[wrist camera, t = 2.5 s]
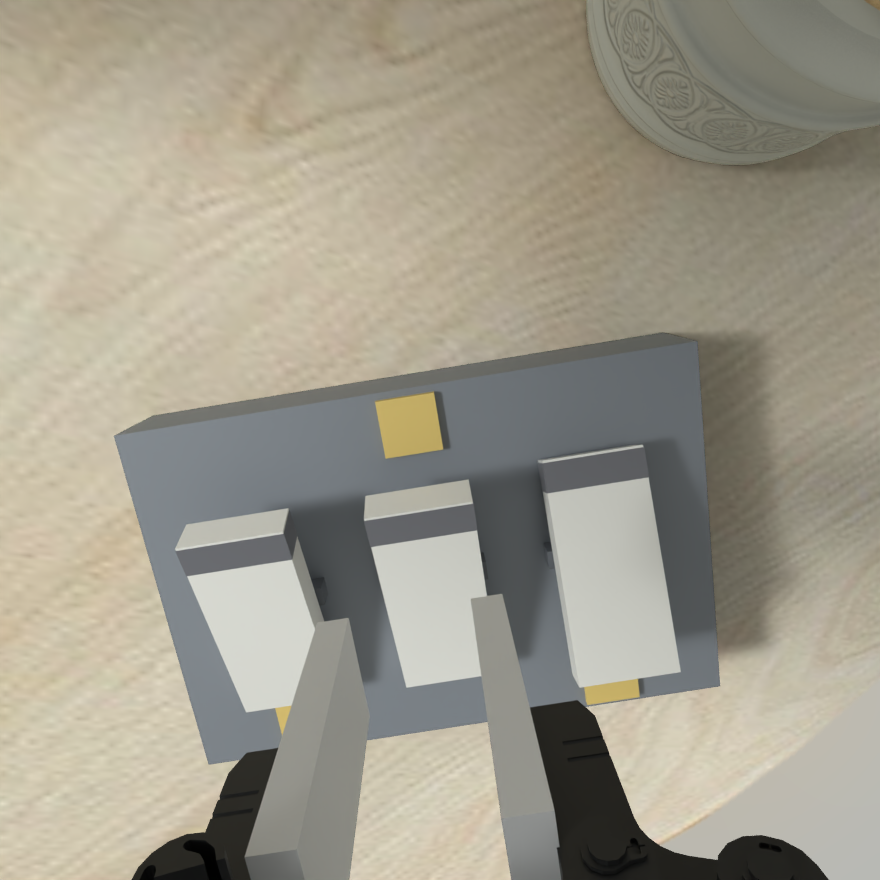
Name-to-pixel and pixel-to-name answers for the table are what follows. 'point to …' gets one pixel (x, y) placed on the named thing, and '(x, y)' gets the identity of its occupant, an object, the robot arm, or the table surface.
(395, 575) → the rocker mid
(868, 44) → the jar
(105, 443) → the table surface
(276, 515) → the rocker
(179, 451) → the switch unit
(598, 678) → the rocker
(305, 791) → the robot arm
